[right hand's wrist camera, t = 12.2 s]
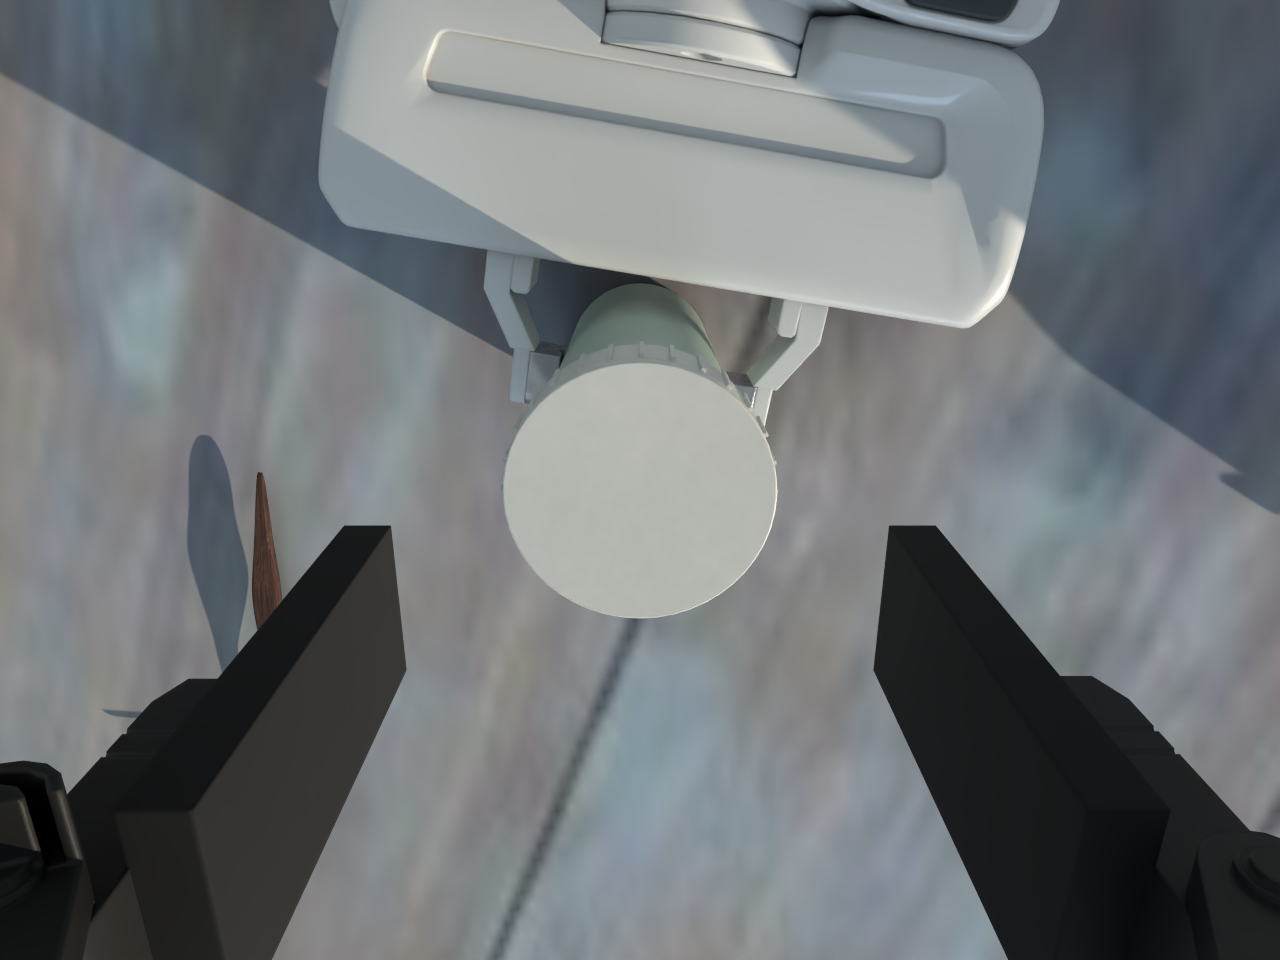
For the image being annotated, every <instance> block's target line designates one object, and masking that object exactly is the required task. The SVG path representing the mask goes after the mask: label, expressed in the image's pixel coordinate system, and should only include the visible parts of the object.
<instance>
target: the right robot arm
mask: <svg viewBox="0 0 1280 960" xmlns="http://www.w3.org/2000/svg"><path fill="white" fill-rule="evenodd" d="M405 672H406V661H405V652H404V643H403V633H402V624H401V615H400V606H399V597H398V587H397V578H396V569H395V560H394V551H393V541H392V532H391V526H344V527H343V528H342V529H341V530H340V531H339V533H338V534H337V535H336V536H335V537H334V539H333V540H332V541H331V542H330V544H329V545H328V546H327V547H326V548H325V550H324V551H323V552H322V553H321V554H320V556H319V557H318V558H317V559H316V560H315V562H314V563H313V564H312V565H311V567H310V568H309V569H308V570H307V571H306V573H305V574H304V575H303V576H302V577H301V579H300V580H299V581H298V582H297V583H296V585H295V586H294V587H293V588H292V590H291V591H290V592H289V593H288V594H287V596H286V597H285V598H284V599H283V600H282V602H281V603H280V604H279V605H278V606H277V608H276V609H275V610H274V611H273V612H272V614H271V615H270V616H269V617H268V619H267V620H266V621H265V622H264V623H263V625H262V626H261V627H260V628H259V629H258V631H257V632H256V633H255V634H254V635H253V637H252V638H251V639H250V640H249V642H248V643H247V644H246V645H245V646H244V648H243V649H242V650H241V651H240V652H239V654H238V655H237V656H236V657H235V658H234V660H233V661H232V662H231V663H230V664H229V666H228V667H227V668H226V669H225V671H224V672H223V673H222V674H221V675H220V677H219V678H218V679H188V680H186V681H184V682H183V683H181V684H180V685H178V686H176V687H175V688H173V689H172V690H170V691H168V692H167V693H165V694H164V695H162V696H160V697H159V698H157V699H156V700H154V701H153V702H151V703H150V704H149V706H148V707H147V708H146V709H145V710H144V711H143V712H142V713H141V714H140V715H139V717H138V718H137V719H136V720H135V721H134V722H133V723H132V724H131V725H130V726H129V727H128V729H127V734H122V735H121V736H120V737H119V738H118V739H117V741H116V742H115V743H114V744H113V745H112V746H111V747H110V748H109V749H108V750H107V754H106V757H101V758H100V759H99V760H98V761H97V762H96V764H95V765H94V766H93V767H92V768H91V769H90V770H89V771H88V772H87V773H86V774H85V776H84V777H83V778H82V779H81V780H80V781H79V782H78V783H77V784H76V785H75V787H74V788H73V789H72V790H71V791H70V792H69V793H68V794H67V793H66V790H65V786H64V783H63V779H62V776H61V773H60V772H58V771H57V770H55V769H54V768H53V767H51V766H50V765H48V764H46V763H38V762H30V761H17V762H9V763H1V764H0V960H272V958H273V956H274V954H275V952H276V950H277V947H278V945H279V943H280V941H281V939H282V937H283V934H284V932H285V930H286V928H287V926H288V924H289V922H290V919H291V917H292V915H293V913H294V911H295V909H296V907H297V904H298V902H299V900H300V898H301V896H302V894H303V891H304V889H305V887H306V885H307V883H308V881H309V879H310V876H311V874H312V872H313V870H314V868H315V866H316V864H317V861H318V859H319V857H320V855H321V853H322V851H323V848H324V846H325V844H326V842H327V840H328V838H329V836H330V833H331V831H332V829H333V827H334V825H335V823H336V821H337V818H338V816H339V814H340V812H341V810H342V808H343V805H344V803H345V801H346V799H347V797H348V795H349V793H350V790H351V788H352V786H353V784H354V782H355V780H356V778H357V775H358V773H359V771H360V769H361V767H362V765H363V762H364V760H365V758H366V756H367V754H368V752H369V750H370V747H371V745H372V743H373V741H374V739H375V737H376V735H377V732H378V730H379V728H380V726H381V724H382V722H383V719H384V717H385V715H386V713H387V711H388V709H389V707H390V704H391V702H392V700H393V698H394V696H395V694H396V692H397V689H398V687H399V685H400V683H401V681H402V679H403V676H404V674H405ZM874 672H875V674H876V676H877V679H878V681H879V683H880V685H881V687H882V689H883V692H884V694H885V696H886V698H887V700H888V702H889V704H890V707H891V709H892V711H893V713H894V715H895V717H896V719H897V722H898V724H899V726H900V728H901V730H902V732H903V735H904V737H905V739H906V741H907V743H908V745H909V747H910V750H911V752H912V754H913V756H914V758H915V760H916V762H917V765H918V767H919V769H920V771H921V773H922V775H923V778H924V780H925V782H926V784H927V786H928V788H929V790H930V793H931V795H932V797H933V799H934V801H935V803H936V805H937V808H938V810H939V812H940V814H941V816H942V818H943V821H944V823H945V825H946V827H947V829H948V831H949V833H950V836H951V838H952V840H953V842H954V844H955V846H956V848H957V851H958V853H959V855H960V857H961V859H962V861H963V864H964V866H965V868H966V870H967V872H968V874H969V876H970V879H971V881H972V883H973V885H974V887H975V889H976V891H977V894H978V896H979V898H980V900H981V902H982V904H983V907H984V909H985V911H986V913H987V915H988V917H989V919H990V922H991V924H992V926H993V928H994V930H995V932H996V934H997V937H998V939H999V941H1000V943H1001V945H1002V947H1003V950H1004V952H1005V954H1006V956H1007V958H1008V960H1280V838H1278V837H1275V836H1272V835H1269V834H1267V833H1261V832H1254V831H1250V830H1249V829H1248V828H1247V827H1246V826H1245V825H1244V824H1243V823H1242V822H1241V820H1240V819H1239V818H1238V817H1237V816H1236V815H1235V814H1234V813H1233V812H1232V811H1231V810H1230V809H1229V807H1228V806H1227V805H1226V804H1225V803H1224V802H1223V801H1222V800H1221V799H1220V798H1219V797H1218V795H1217V794H1216V793H1215V792H1214V791H1213V790H1212V789H1211V788H1210V787H1209V786H1208V785H1207V784H1206V782H1205V781H1204V780H1203V779H1202V778H1201V777H1200V776H1199V775H1198V774H1197V773H1196V772H1195V771H1194V769H1193V768H1192V767H1191V766H1190V765H1189V764H1188V763H1187V762H1186V761H1185V760H1184V759H1183V757H1182V756H1181V755H1180V754H1175V752H1174V748H1173V747H1172V746H1171V744H1170V743H1169V742H1168V741H1167V740H1166V739H1165V738H1164V737H1163V736H1162V735H1161V734H1160V732H1159V731H1154V728H1153V727H1154V726H1153V725H1152V724H1151V723H1150V722H1149V721H1148V719H1147V718H1146V717H1145V716H1144V715H1143V714H1142V713H1141V712H1140V711H1139V710H1138V709H1137V707H1136V706H1135V705H1134V704H1133V703H1132V702H1131V701H1130V700H1129V699H1128V698H1126V697H1125V696H1123V695H1121V694H1120V693H1118V692H1117V691H1115V690H1113V689H1112V688H1110V687H1109V686H1107V685H1105V684H1104V683H1102V682H1101V681H1099V680H1097V679H1096V678H1094V677H1093V676H1060V675H1059V674H1058V673H1057V672H1056V671H1055V669H1054V668H1053V667H1052V666H1051V664H1050V663H1049V662H1048V661H1047V660H1046V658H1045V657H1044V656H1043V655H1042V654H1041V652H1040V651H1039V650H1038V649H1037V648H1036V646H1035V645H1034V644H1033V643H1032V642H1031V640H1030V639H1029V638H1028V637H1027V635H1026V634H1025V633H1024V632H1023V631H1022V629H1021V628H1020V627H1019V626H1018V625H1017V623H1016V622H1015V621H1014V620H1013V619H1012V617H1011V616H1010V615H1009V614H1008V612H1007V611H1006V610H1005V609H1004V608H1003V606H1002V605H1001V604H1000V603H999V602H998V600H997V599H996V598H995V597H994V596H993V594H992V593H991V592H990V591H989V590H988V588H987V587H986V586H985V585H984V583H983V582H982V581H981V580H980V579H979V577H978V576H977V575H976V574H975V573H974V571H973V570H972V569H971V568H970V567H969V565H968V564H967V563H966V562H965V560H964V559H963V558H962V557H961V556H960V554H959V553H958V552H957V551H956V550H955V548H954V547H953V546H952V545H951V544H950V542H949V541H948V540H947V539H946V538H945V536H944V535H943V534H942V533H941V531H940V530H939V529H938V528H937V527H936V526H889V532H888V541H887V551H886V560H885V569H884V578H883V587H882V597H881V606H880V615H879V624H878V633H877V643H876V652H875V661H874Z"/></svg>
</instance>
